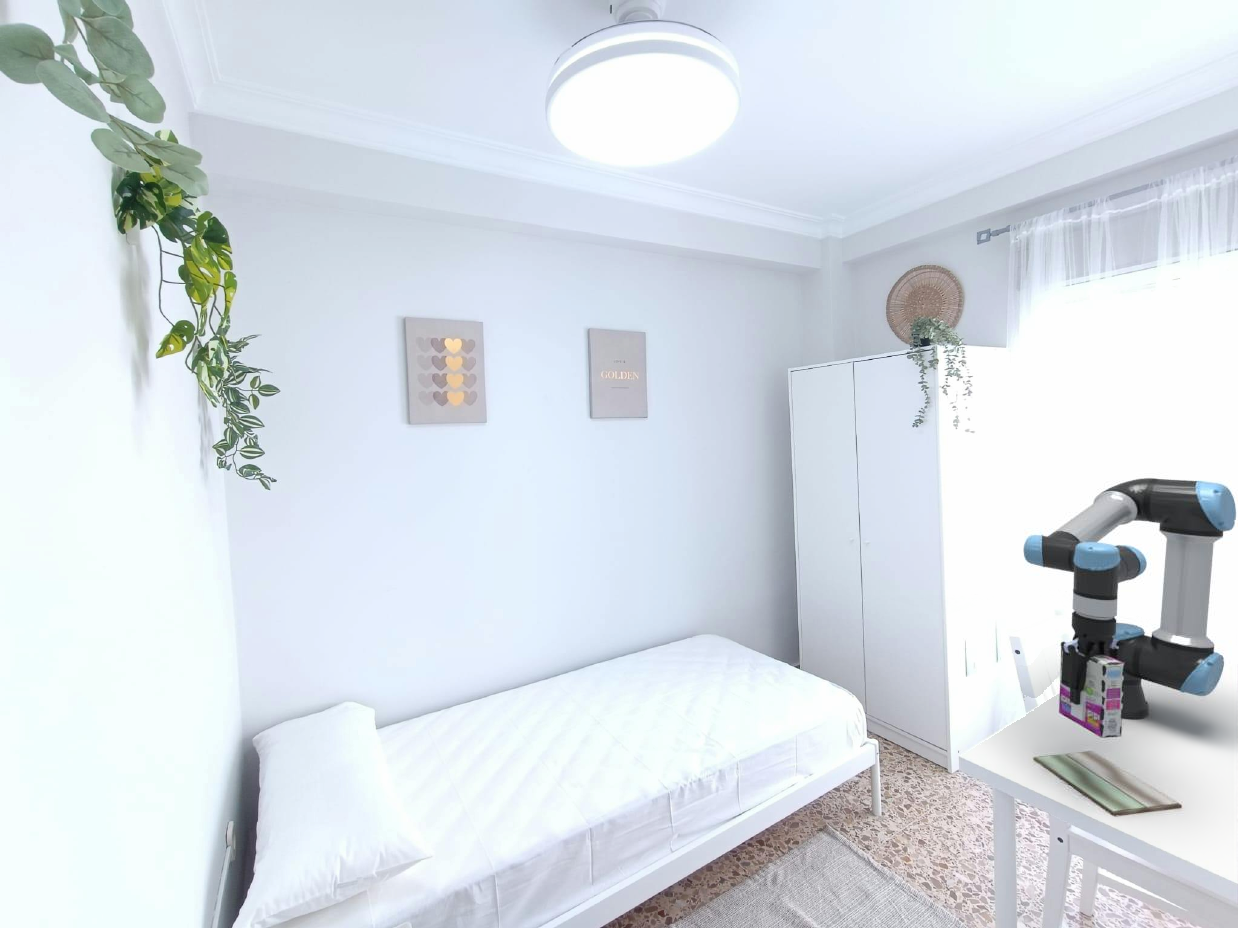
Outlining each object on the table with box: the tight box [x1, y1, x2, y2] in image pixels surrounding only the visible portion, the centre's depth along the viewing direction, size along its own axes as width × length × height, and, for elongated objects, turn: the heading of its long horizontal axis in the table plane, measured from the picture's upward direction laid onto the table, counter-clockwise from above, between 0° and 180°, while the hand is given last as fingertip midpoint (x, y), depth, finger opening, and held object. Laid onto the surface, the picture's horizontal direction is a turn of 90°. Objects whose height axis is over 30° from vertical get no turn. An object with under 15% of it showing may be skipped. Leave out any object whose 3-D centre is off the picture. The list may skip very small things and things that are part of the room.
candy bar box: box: [1058, 647, 1124, 739], centre depth 128 cm, size 11×5×16 cm, turn 5°
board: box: [1033, 750, 1183, 817], centre depth 131 cm, size 16×20×1 cm
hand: (1089, 715), depth 129 cm, fingers closed on candy bar box, 5 cm apart
